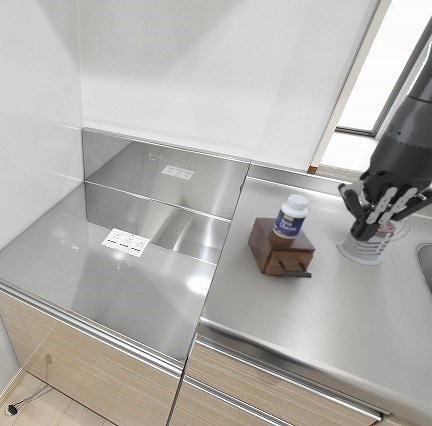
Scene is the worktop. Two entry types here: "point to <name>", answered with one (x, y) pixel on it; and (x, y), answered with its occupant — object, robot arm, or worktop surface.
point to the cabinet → (273, 242)
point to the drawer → (289, 264)
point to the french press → (369, 244)
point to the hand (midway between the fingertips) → (358, 237)
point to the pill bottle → (291, 217)
